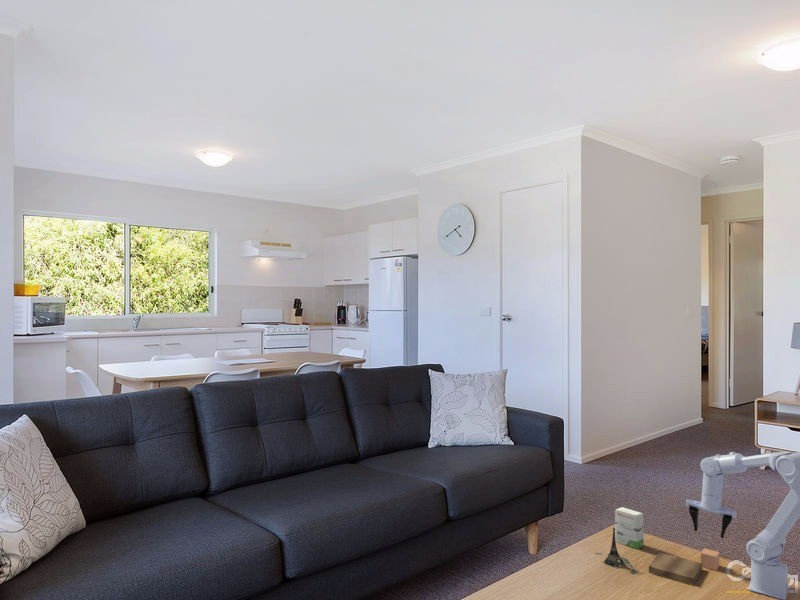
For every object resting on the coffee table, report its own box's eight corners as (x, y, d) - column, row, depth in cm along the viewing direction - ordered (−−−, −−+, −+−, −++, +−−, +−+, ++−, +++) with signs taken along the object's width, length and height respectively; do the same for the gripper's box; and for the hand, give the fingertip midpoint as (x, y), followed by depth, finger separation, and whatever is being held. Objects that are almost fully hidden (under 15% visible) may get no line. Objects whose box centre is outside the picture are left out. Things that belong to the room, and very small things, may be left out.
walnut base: (702, 569, 186) (702, 563, 186) (693, 585, 176) (693, 578, 176) (659, 558, 194) (659, 552, 194) (648, 572, 184) (648, 566, 184)
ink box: (644, 546, 204) (644, 512, 204) (637, 549, 201) (637, 516, 201) (621, 538, 211) (621, 505, 211) (614, 541, 207) (614, 508, 207)
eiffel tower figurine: (639, 576, 182) (639, 534, 182) (606, 575, 183) (606, 533, 183) (623, 555, 197) (623, 516, 197) (593, 554, 198) (593, 516, 198)
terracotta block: (719, 565, 189) (719, 552, 189) (716, 570, 186) (716, 556, 186) (703, 561, 192) (703, 548, 192) (700, 566, 188) (700, 553, 188)
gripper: (738, 494, 187) (735, 535, 188) (689, 483, 195) (686, 522, 196) (736, 501, 181) (733, 543, 182) (685, 490, 190) (683, 530, 190)
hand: (708, 533), depth 189 cm, fingers open, 7 cm apart
